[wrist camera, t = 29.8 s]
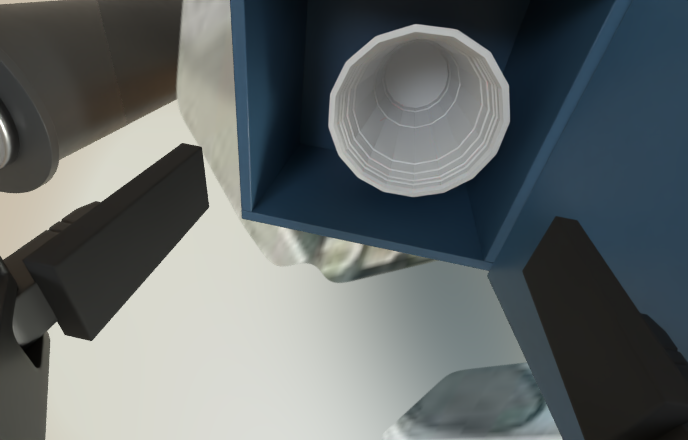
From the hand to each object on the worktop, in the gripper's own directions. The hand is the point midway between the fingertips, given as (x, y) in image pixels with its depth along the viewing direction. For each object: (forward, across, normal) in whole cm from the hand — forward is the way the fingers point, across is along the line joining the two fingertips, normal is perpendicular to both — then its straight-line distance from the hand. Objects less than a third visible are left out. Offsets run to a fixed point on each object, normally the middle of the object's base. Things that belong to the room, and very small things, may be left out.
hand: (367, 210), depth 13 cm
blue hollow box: (+22, 0, 0) cm, 22 cm away
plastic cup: (+22, +2, 0) cm, 22 cm away
